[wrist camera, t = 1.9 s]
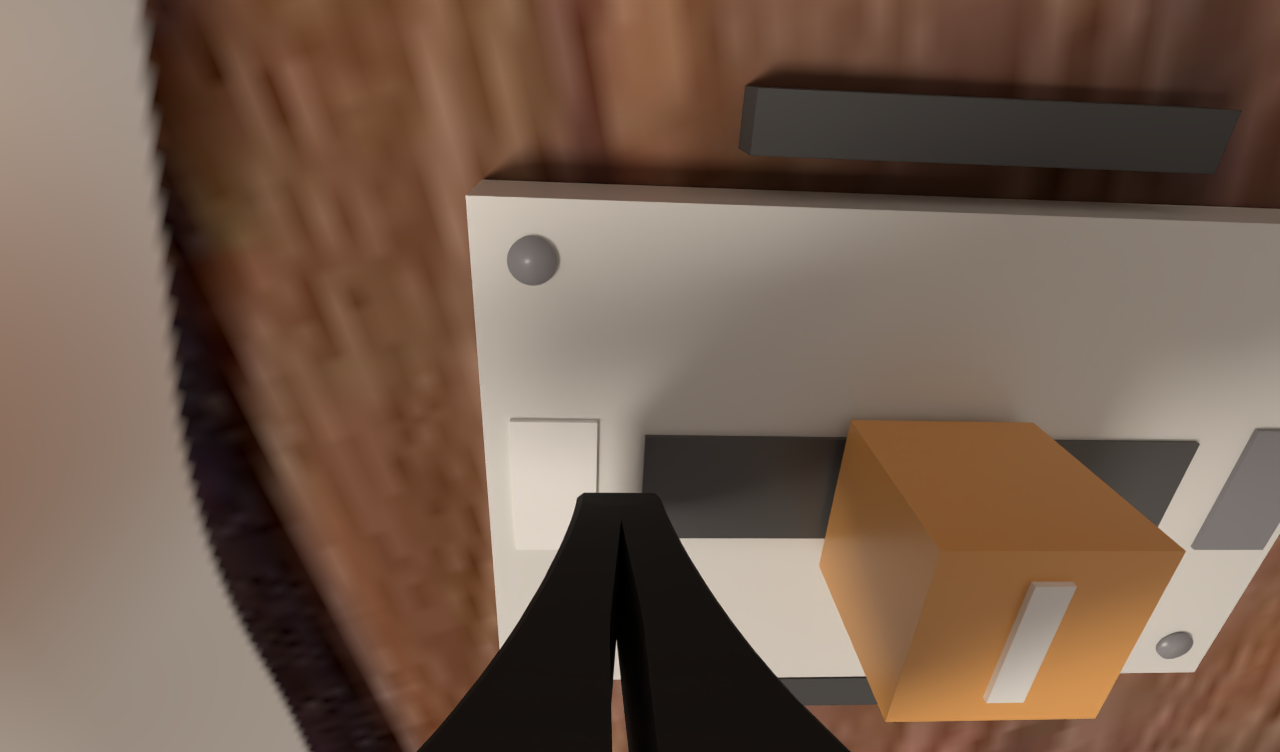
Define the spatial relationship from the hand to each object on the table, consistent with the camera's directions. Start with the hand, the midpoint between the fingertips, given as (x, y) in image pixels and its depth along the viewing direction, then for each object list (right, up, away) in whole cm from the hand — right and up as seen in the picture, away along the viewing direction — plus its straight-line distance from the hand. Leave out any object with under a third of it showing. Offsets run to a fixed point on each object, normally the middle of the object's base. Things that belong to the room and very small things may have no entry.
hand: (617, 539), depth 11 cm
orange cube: (+6, 0, +2) cm, 6 cm away
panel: (+6, +1, +3) cm, 7 cm away
